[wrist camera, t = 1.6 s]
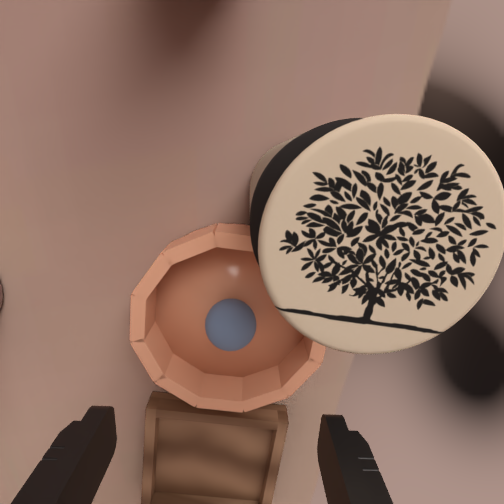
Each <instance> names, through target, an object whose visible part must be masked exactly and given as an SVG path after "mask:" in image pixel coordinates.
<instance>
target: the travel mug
mask: <svg viewBox="0 0 504 504" xmlns="http://www.w3.org/2000/svg"><path fill="white" fill-rule="evenodd" d="M250 236H251V244H252V248H253V252H254V255H255V258H256V261H257V263H258V265H259V267H260V271H261V276H262V279H263V282H264V285H265V288H266V290H267V293H268V295H269V297H270V298H271V300H272V302H273V304H274V305H275V307H276V308H277V310H278V311H279V313H280V314H281V315H282V316H283V317H284V318H285V320H286V321H287V322H288V323H289V324H290V325H291V326H293V327H294V328H295V329H296V330H297V331H299V332H300V333H301V334H303V335H304V336H306V337H307V338H309V339H311V340H313V341H315V342H317V343H319V344H321V345H323V346H326V347H328V348H331V349H335V350H338V351H343V352H348V353H355V354H381V353H389V352H395V351H399V350H403V349H407V348H410V347H413V346H416V345H418V344H421V343H423V342H425V341H428V340H429V339H431V338H433V337H435V336H437V335H439V334H440V333H442V332H444V331H445V330H447V329H448V328H449V327H451V326H452V325H454V324H455V323H456V322H457V321H459V320H460V319H461V318H462V317H463V316H464V315H465V314H466V313H467V312H468V311H469V310H470V309H471V308H472V307H473V306H474V305H475V304H476V303H477V301H478V300H479V299H480V297H481V296H482V295H483V293H484V292H485V291H486V289H487V288H488V286H489V284H490V282H491V281H492V279H493V277H494V275H495V273H496V271H497V269H498V266H499V264H500V261H501V258H502V255H503V251H504V190H503V187H502V184H501V181H500V179H499V176H498V174H497V172H496V170H495V169H494V167H493V165H492V163H491V162H490V160H489V159H488V157H487V156H486V155H485V153H484V152H483V151H482V150H481V149H480V148H479V147H478V146H477V145H476V144H475V143H474V142H473V141H471V140H470V139H469V138H468V137H467V136H465V135H464V134H462V133H461V132H459V131H458V130H456V129H455V128H453V127H451V126H448V125H446V124H445V123H442V122H439V121H436V120H434V119H430V118H426V117H422V116H416V115H408V114H387V115H378V116H372V117H367V118H350V119H343V120H338V121H334V122H330V123H327V124H324V125H321V126H318V127H316V128H314V129H312V130H309V131H307V132H305V133H303V134H301V135H298V136H296V137H294V138H292V139H289V140H287V141H285V142H283V143H280V144H278V145H276V146H275V147H273V148H271V149H270V150H269V151H268V152H266V153H265V154H264V155H263V156H262V158H261V159H260V160H259V162H258V163H257V165H256V166H255V169H254V171H253V173H252V176H251V181H250Z"/></svg>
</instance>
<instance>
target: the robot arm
mask: <svg viewBox="0 0 504 504" xmlns="http://www.w3.org/2000/svg"><path fill="white" fill-rule="evenodd" d="M2 300H3V293H2V286H1V283H0V309H1V306H2ZM116 441H117V435H116V425H115V414H114V408H113V407H112V406H91V407H90V408H89V409H88V411H87V413H86V414H85V416H84V417H83V419H82V420H81V421H73V422H72V423H70V424H69V425H68V426H67V427H66V428H64V429H63V430H62V431H61V432H60V433H59V434H58V436H57V437H56V439H55V440H54V442H53V443H52V445H51V446H50V449H48V450H47V452H46V453H45V455H44V456H43V458H42V461H40V462H39V463H38V465H37V466H36V468H35V469H34V471H33V472H32V474H31V475H30V477H29V478H28V479H27V481H26V482H25V484H24V485H23V487H22V488H21V490H20V491H19V493H18V494H17V495H16V497H15V498H14V500H13V501H12V503H11V504H91V503H92V501H93V499H94V497H95V494H96V492H97V490H98V488H99V486H100V483H101V481H102V479H103V477H104V475H105V473H106V470H107V468H108V466H109V464H110V462H111V459H112V457H113V455H114V451H115V448H116ZM317 453H318V462H319V467H320V471H321V476H322V480H323V485H324V489H325V493H326V497H327V502H328V504H393V502H392V500H391V498H390V495H389V493H388V490H387V488H386V486H385V483H384V481H383V478H382V476H381V473H380V472H379V468H378V466H377V464H376V461H375V460H374V456H373V454H372V452H371V449H370V447H369V445H368V443H367V442H366V440H365V439H364V438H363V437H362V436H361V434H359V432H358V431H349V430H348V428H347V425H346V422H345V419H344V417H343V416H342V415H326V414H323V415H322V418H321V424H320V431H319V438H318V446H317Z"/></svg>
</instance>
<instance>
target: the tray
mask: <svg viewBox="0 0 504 504" xmlns="http://www.w3.org/2000/svg"><path fill="white" fill-rule="evenodd" d="M196 407H197V405H196V406H195V407H193V406H192V405H190V404H188V403H187V402H185V401H183V400H182V399H180V398H178V397H177V396H175V395H173V394H172V393H164V392H155V391H153V392H152V394H151V397H150V399H149V402H148V404H147V407H146V414H145V435H144V456H143V476H142V497H141V504H271V503H272V499H273V494H274V489H275V485H276V480H277V475H278V470H279V466H280V461H281V456H282V452H283V447H284V442H285V438H286V433H287V428H288V424H289V422H288V415H287V409H286V405H277V404H268V405H265V406H262V407H259V408H256V409H253V410H250V411H247V412H244V410H243V413H242V412H232V411H223V410H213V409H203V408H196Z"/></svg>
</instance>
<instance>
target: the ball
mask: <svg viewBox="0 0 504 504" xmlns="http://www.w3.org/2000/svg"><path fill="white" fill-rule="evenodd" d="M205 330H206V334H207V337H208V339H209V340H210V341H211V343H212V344H213V345H214V346H216V347H217V348H219V349H221V350H225V351H236V350H240V349H242V348H244V347H245V346H246V345H248V344H249V343H250V341H251V340H252V339H253V337H254V334H255V332H256V317H255V315H254V312H253V311H252V309H251V308H250V307H249V306H248V305H247V304H246V303H245V302H243V301H241V300H238V299H224V300H221V301H219V302H217V303H216V304H215V305H214V306H212V308H211V309H210V310H209V312H208V314H207V316H206V320H205Z"/></svg>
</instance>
